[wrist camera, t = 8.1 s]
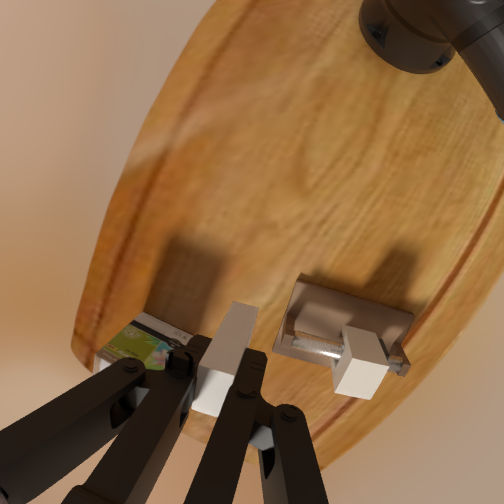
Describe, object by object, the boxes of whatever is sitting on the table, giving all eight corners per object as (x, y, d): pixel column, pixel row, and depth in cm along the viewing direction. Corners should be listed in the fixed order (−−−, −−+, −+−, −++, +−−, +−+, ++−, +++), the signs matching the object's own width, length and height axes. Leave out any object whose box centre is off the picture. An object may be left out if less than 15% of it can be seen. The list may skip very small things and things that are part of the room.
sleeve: (344, 324, 41) (352, 358, 33) (375, 333, 41) (389, 366, 33) (330, 355, 43) (334, 392, 34) (360, 363, 42) (370, 399, 34)
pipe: (296, 324, 41) (295, 334, 38) (400, 351, 40) (405, 362, 37) (289, 342, 41) (288, 353, 39) (391, 367, 40) (396, 378, 38)
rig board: (296, 279, 44) (296, 298, 37) (412, 313, 43) (428, 335, 36) (272, 348, 47) (267, 375, 40) (380, 375, 46) (389, 402, 39)
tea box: (141, 309, 49) (92, 353, 35) (195, 335, 49) (160, 389, 34) (127, 371, 53) (88, 418, 39) (174, 395, 53) (143, 449, 39)
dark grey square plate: (375, 337, 40) (382, 354, 36) (382, 338, 40) (389, 355, 36) (362, 363, 42) (367, 381, 37) (369, 364, 42) (374, 383, 37)
